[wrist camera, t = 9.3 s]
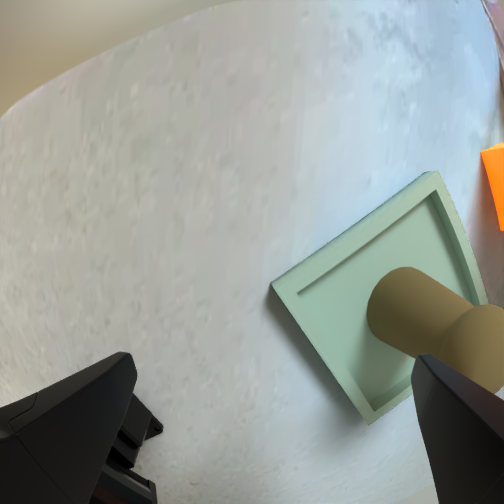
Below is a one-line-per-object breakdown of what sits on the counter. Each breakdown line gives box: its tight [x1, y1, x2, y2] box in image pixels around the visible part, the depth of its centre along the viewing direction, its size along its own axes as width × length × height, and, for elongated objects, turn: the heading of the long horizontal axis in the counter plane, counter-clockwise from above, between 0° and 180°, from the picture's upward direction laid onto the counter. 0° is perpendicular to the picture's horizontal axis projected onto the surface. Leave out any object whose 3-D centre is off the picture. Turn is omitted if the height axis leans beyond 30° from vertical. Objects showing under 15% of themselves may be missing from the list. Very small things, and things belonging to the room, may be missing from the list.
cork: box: [366, 267, 504, 394], centre depth 16 cm, size 6×6×11 cm
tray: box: [271, 170, 489, 425], centre depth 21 cm, size 14×14×2 cm
